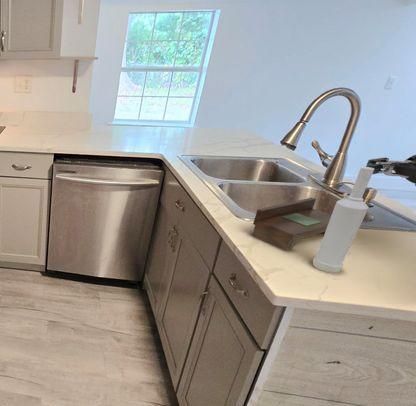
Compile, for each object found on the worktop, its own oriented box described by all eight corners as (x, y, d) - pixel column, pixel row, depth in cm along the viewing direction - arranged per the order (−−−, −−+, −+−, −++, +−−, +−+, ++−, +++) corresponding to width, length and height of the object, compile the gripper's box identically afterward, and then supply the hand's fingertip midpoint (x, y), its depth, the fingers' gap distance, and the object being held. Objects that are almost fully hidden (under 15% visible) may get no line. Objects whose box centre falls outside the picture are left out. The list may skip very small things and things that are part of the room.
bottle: (346, 272, 85) (392, 171, 75) (326, 274, 85) (369, 172, 75) (325, 260, 90) (366, 164, 80) (305, 262, 90) (344, 165, 80)
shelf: (342, 236, 100) (353, 210, 97) (287, 252, 94) (297, 224, 91) (302, 222, 109) (311, 197, 106) (249, 234, 103) (257, 209, 100)
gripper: (401, 144, 91) (359, 152, 87) (489, 159, 79) (446, 169, 74) (388, 172, 94) (347, 181, 90) (471, 191, 82) (429, 202, 77)
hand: (392, 175), depth 82 cm, fingers open, 8 cm apart
